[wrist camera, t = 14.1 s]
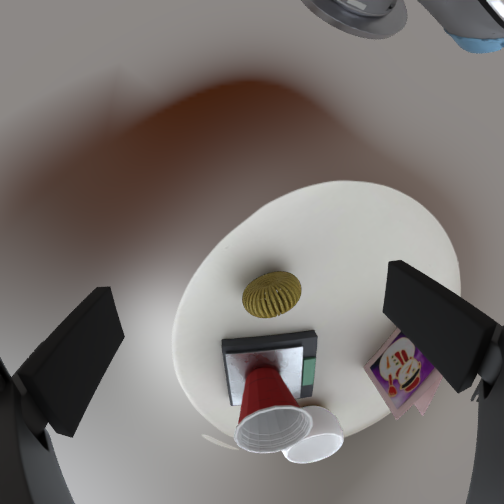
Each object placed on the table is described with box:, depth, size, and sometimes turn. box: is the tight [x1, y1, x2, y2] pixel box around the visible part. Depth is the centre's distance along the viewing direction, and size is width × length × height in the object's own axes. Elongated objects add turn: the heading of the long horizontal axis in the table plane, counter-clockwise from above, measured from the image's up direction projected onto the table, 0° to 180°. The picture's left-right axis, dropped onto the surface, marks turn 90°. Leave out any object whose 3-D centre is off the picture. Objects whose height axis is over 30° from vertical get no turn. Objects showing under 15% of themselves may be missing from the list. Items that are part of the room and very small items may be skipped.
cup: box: [282, 406, 344, 463], centre depth 44 cm, size 12×12×10 cm
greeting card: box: [363, 327, 443, 420], centre depth 39 cm, size 11×7×15 cm, turn 146°
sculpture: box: [242, 271, 301, 318], centre depth 36 cm, size 8×4×8 cm, turn 110°
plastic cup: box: [234, 367, 313, 453], centre depth 36 cm, size 11×11×12 cm
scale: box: [222, 330, 318, 406], centre depth 43 cm, size 14×15×3 cm
